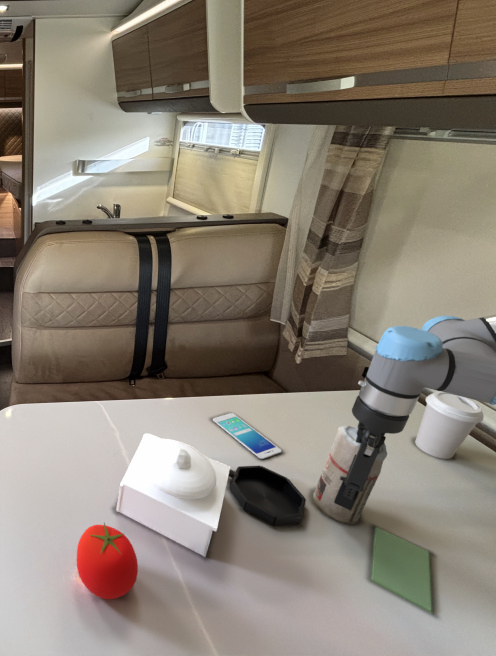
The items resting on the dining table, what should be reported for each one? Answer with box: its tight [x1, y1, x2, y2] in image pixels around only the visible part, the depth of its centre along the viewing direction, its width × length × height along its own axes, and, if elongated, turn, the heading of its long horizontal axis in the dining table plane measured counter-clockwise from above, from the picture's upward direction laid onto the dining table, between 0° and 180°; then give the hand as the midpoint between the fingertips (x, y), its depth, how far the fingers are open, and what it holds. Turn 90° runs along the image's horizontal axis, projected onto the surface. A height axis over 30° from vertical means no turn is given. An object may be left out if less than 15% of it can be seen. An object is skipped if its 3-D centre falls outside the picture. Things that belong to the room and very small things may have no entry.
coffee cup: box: [414, 390, 484, 460], centre depth 103 cm, size 10×10×15 cm
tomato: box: [76, 522, 139, 600], centre depth 76 cm, size 10×11×11 cm
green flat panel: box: [370, 526, 434, 615], centre depth 79 cm, size 8×14×1 cm, turn 137°
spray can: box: [312, 425, 388, 525], centre depth 87 cm, size 8×8×20 cm
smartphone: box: [212, 412, 283, 461], centre depth 110 cm, size 8×1×15 cm
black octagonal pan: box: [228, 465, 307, 527], centre depth 95 cm, size 22×13×3 cm, turn 47°
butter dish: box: [115, 432, 231, 558], centre depth 89 cm, size 18×18×16 cm
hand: (345, 491), depth 88 cm, fingers closed on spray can, 8 cm apart
